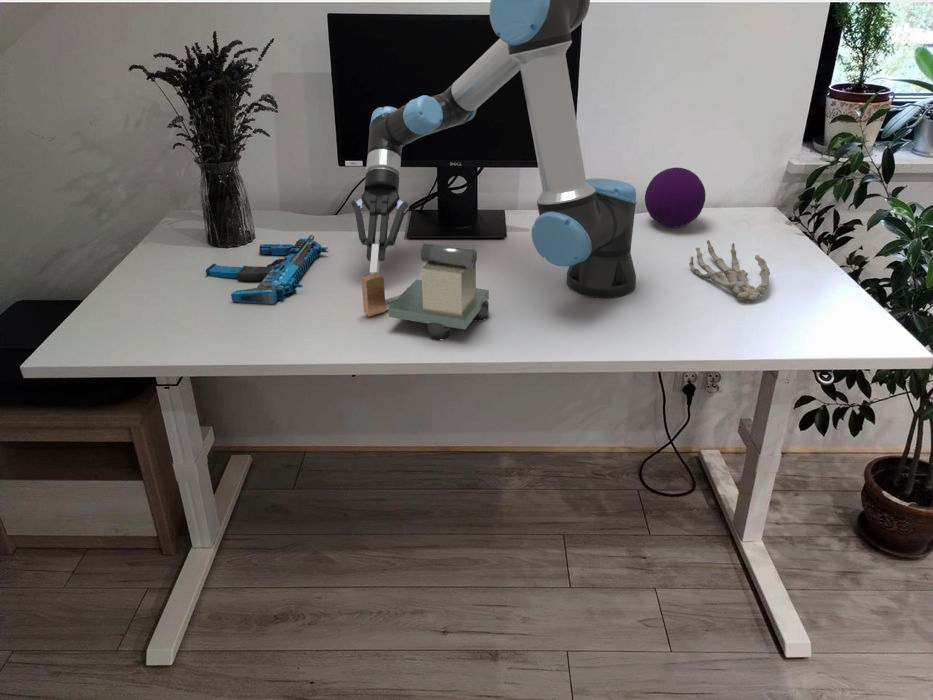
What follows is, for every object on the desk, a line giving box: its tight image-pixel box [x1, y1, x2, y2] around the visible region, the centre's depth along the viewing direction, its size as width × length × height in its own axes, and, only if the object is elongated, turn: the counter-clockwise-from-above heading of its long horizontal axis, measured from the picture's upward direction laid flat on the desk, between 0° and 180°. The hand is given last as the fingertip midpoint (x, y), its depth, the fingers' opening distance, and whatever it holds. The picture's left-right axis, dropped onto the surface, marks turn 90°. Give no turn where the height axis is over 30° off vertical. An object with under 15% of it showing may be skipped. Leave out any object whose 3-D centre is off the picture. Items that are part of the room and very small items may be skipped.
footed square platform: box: [387, 242, 490, 341], centre depth 155 cm, size 17×15×17 cm
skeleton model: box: [688, 239, 771, 303], centre depth 175 cm, size 24×13×5 cm, turn 20°
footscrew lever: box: [360, 272, 410, 317], centre depth 163 cm, size 15×5×8 cm, turn 127°
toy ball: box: [644, 167, 706, 228], centre depth 201 cm, size 15×15×15 cm
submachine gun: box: [205, 234, 329, 305], centre depth 182 cm, size 34×4×25 cm
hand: (374, 274), depth 170 cm, fingers closed
